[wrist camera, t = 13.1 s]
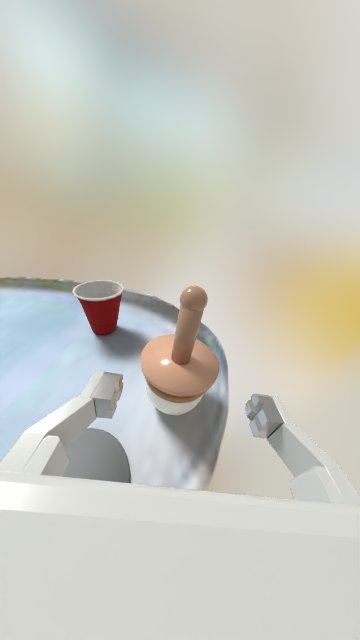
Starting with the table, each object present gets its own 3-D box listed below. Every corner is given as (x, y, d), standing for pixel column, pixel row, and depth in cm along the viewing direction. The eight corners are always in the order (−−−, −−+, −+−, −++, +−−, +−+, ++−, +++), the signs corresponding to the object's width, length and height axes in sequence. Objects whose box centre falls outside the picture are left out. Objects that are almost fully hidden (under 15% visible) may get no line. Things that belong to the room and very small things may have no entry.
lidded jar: (202, 381, 34) (214, 348, 29) (195, 437, 25) (211, 402, 20) (155, 367, 35) (159, 333, 31) (131, 415, 26) (132, 377, 21)
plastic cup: (78, 321, 45) (70, 279, 39) (119, 316, 50) (117, 278, 44) (82, 346, 37) (72, 299, 31) (129, 336, 43) (129, 295, 37)
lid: (147, 405, 19) (156, 312, 12) (136, 340, 28) (139, 268, 22) (233, 387, 23) (272, 310, 17) (198, 335, 32) (215, 274, 26)
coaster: (-86, 688, 10) (-89, 690, 10) (16, 445, 21) (15, 444, 21) (134, 567, 15) (134, 567, 15) (126, 419, 26) (126, 418, 26)
